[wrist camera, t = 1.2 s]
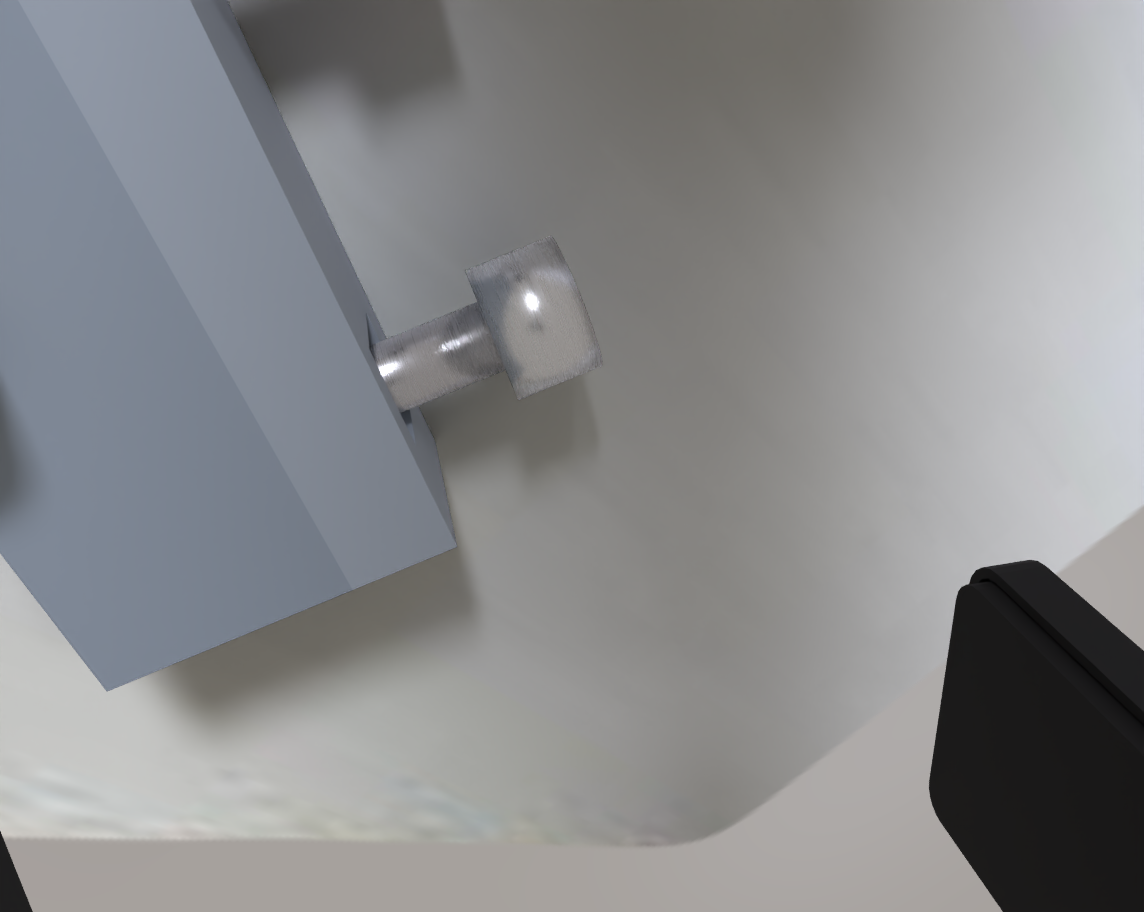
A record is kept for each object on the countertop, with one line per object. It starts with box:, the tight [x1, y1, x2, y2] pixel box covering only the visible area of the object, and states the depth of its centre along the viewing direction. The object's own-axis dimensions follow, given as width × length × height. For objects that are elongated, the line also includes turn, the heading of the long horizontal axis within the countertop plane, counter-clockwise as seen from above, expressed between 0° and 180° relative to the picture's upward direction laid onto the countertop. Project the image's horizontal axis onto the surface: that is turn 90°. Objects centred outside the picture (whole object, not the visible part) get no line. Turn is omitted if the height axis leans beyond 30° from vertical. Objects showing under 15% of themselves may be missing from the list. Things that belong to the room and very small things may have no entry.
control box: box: [0, 0, 457, 691], centre depth 25 cm, size 10×20×6 cm, turn 19°
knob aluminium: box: [369, 236, 603, 413], centre depth 28 cm, size 10×4×4 cm, turn 109°
